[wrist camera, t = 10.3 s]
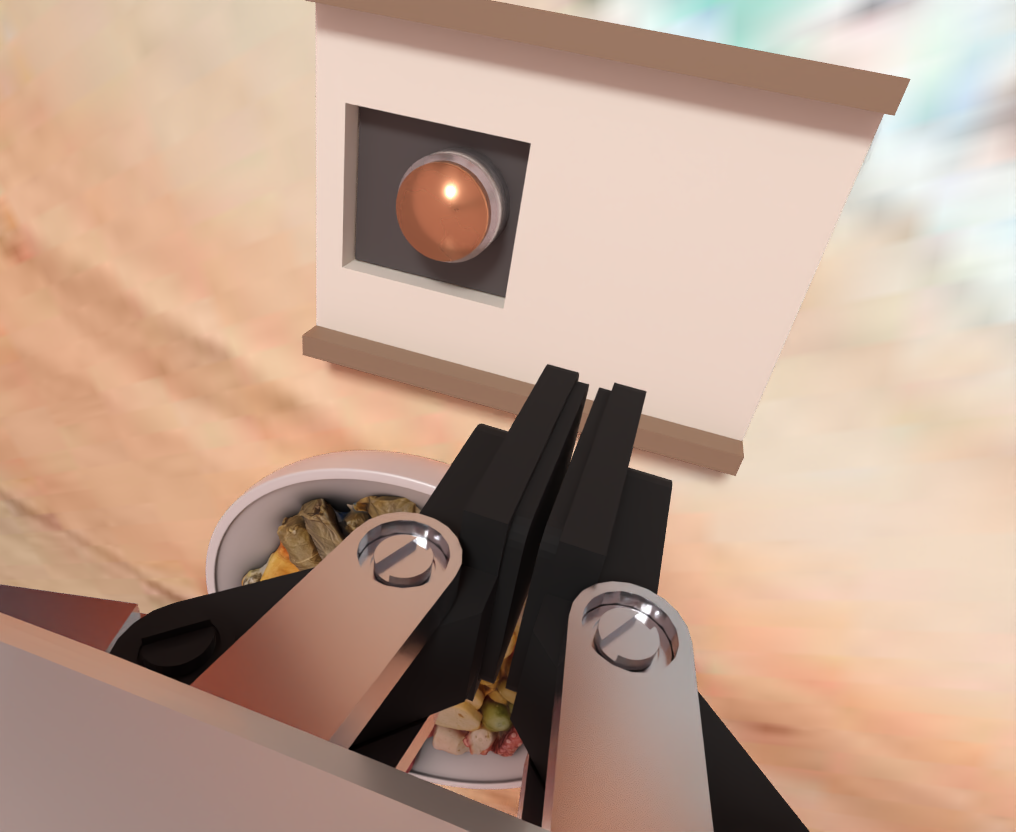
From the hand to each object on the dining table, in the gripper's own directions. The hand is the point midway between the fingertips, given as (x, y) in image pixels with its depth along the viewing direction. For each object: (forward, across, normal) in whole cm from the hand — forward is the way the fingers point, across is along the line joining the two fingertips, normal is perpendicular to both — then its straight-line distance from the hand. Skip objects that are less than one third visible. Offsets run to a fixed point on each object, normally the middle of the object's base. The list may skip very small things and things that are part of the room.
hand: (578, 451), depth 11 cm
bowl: (+22, +9, +32) cm, 40 cm away
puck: (+22, +10, +3) cm, 24 cm away
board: (+22, +5, +3) cm, 23 cm away
